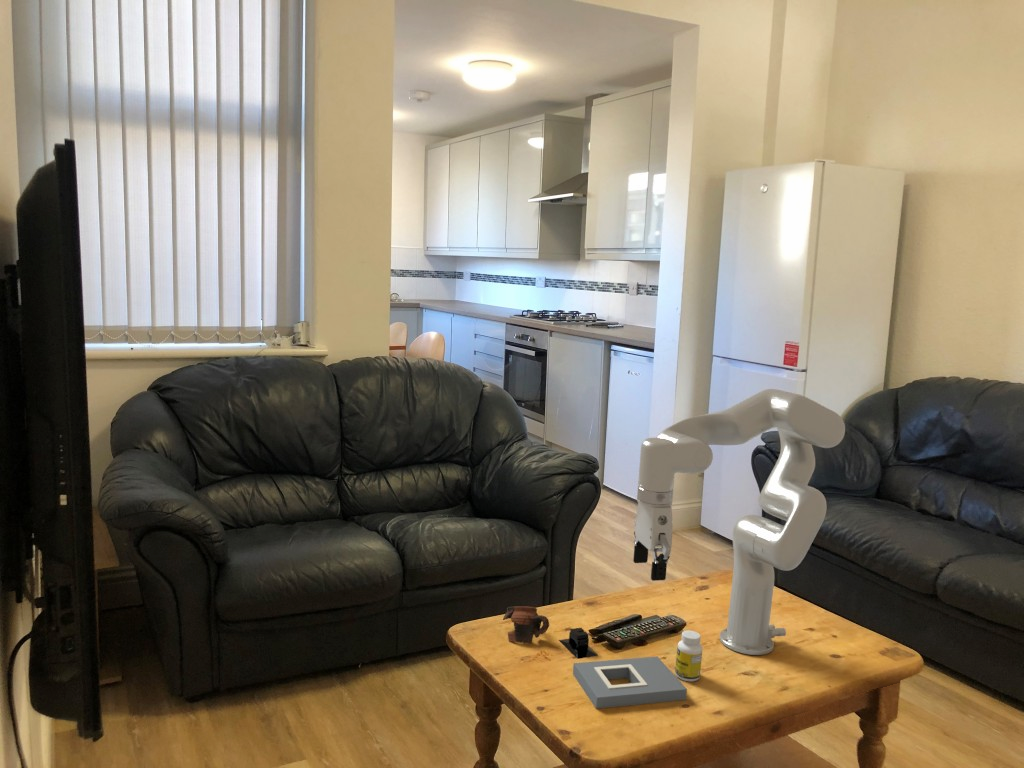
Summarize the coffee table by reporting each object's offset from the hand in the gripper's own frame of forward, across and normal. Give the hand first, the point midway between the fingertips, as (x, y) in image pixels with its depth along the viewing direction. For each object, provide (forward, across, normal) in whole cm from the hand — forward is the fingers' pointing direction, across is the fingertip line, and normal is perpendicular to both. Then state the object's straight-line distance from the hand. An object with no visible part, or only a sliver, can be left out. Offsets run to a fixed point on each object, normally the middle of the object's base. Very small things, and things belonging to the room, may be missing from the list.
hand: (648, 570), depth 175 cm
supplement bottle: (+23, -5, -9) cm, 25 cm away
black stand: (+24, +11, +11) cm, 28 cm away
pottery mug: (+23, +18, +22) cm, 37 cm away
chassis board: (+23, -7, +6) cm, 24 cm away
